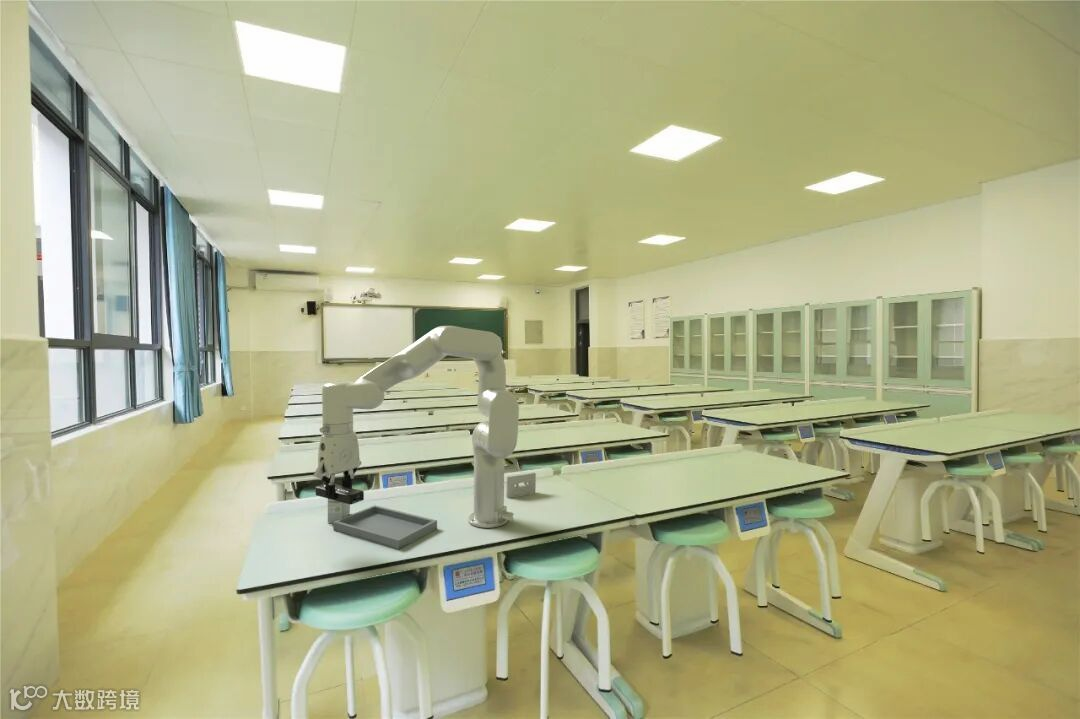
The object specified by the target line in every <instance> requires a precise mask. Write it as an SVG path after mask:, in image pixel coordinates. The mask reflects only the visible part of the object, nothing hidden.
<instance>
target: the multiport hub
mask: <svg viewBox="0 0 1080 719" xmlns="http://www.w3.org/2000/svg"><path fill="white" fill-rule="evenodd" d="M334 484H335V485H336V498H335V499H334V500H335V501H339V502H342V503H346V504H350V505H355V504H356V503H359V502H362V501H364V500H365V494H364V491H363V490H360V489H358V488H357V489H356V488H353V487H352V488H349V487H345V486H342V484H341V485H339V484H336V483H334ZM314 490H315V496H316V497H317V496H318V497H321V498H324V499H327V498H326V495H325V484H323V483H322V484H320V485H317V486H315V489H314Z"/></svg>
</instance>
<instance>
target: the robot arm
mask: <svg viewBox="0 0 1080 719" xmlns="http://www.w3.org/2000/svg"><path fill="white" fill-rule="evenodd" d="M502 350H503V342H502V340H501V338H500V337H499V335H497V334H496V333H494V332H492V331H487V330H481V329H479V330H478V329H474V328H473V329H472V328H467V327H466V328H465V327H461V326H456V325H455V326H454V325H440V326H436V327H435V328H433V329H431V330H430V331H429V332H427V333H426V334H424V335H423V336H421V337H420V338H419V339H417V340H416V341H415V342H413V343H412V344H410V345H408V346H407V347H406V348H404V349H403V350H402V351H400V352H399V353H397V354H395V355H393V356H391V357H390V358H388V359H387V360H385V361H384V362H382V363H381V364H379V365H377V366H376V367H374V368H373V369H371V370H370V371H368V372H367V373H366V374H364V375H363V376H360V378H358V379H357V380H356V381H355V382H353V384H352V383H349V382H345V381H339V382H337V381H336V382H335V381H334V382H327V383H325V384H324V385H323V386H322V388H321V390H322V391H321V395H322V396H321V399H322V401H321V402H322V404H321V405H322V406H321V407H322V409H321V410H322V413H321V414H322V427H320V428H319V432H320V433H322V435H321V436H320V439H319V444H318V456H317V457H318V458H317V468H316V469H315V471H314V473H313V477H314V478H315V479H318V480H319V481H320V482H322V485H323V484H325V495H326V498H325V499H327V500H328V499H331V500H334V499H335V498H336V485H337V484H336V483H335V477H336V474H337V475H338V474H340V473H342V474H343V477H342V478H341V486H345V487H349V488H353V482H352V481H353V479H354V478H355V474H356V472H357V471H358V469H359V468H360V467H361V465H362V461H361V460H360V458H361V457H360V447H359V440H358V436H357V433H356V431H354V410H355V409H356V410H373V409H376V408H378V407H380V406H381V405H382V404H383V402H384V400H385V392H386V391H388V390H389V389H391V388H392V387H394V386H396V385H398V384H400V383H403V382H405V381H408V380H411V379H414V378H415V379H416V378H417V377H419V376H421V375H422V374H423V373H425V372H426V371H427V370H429V369H430V368H432V367H433V366H434V365H436V364H437V363H438V362H439V361H441V360H442V359H444V358H445V357H446V356H451V357H456V358H465V359H472V360H473V362H475V364H476V367H477V370H478V390H477V402H476V403H477V409H478V411H479V412H480V414H481V415H483V416H484V417H487V418H488V420H484V421H481V422H479V423H478V424H477V425H476V426H474V429H473V431H472V435H471V436H472V437H471V443H472V451H473V464H474V465H473V512H472V513H470V515H469V516H468V523H469V525H471V526H473V527H478V528H483V529H485V528H487V529H489V528H497V527H501V526H504V525H505V524H507V523H508V522H511V523H512V522H513V521H514V512H512V511H508V506H506V505H504V504H505V503H504V502H505V459H506V458H508V457H510V456H511V455H512V454H513V453H514V451H515V449H516V447H517V444H518V443H517V442H518V434H519V421H520V420H519V417H520V406H519V402H518V399H517V397H516V396H515V395H514V393H512V392H511V391H510V390H507V383H506V382H507V376H506V375H507V373H506V372H507V371H506V365H505V364H506V363H505V361H504V357H503V356H502V354H501V353H502ZM335 484H336V485H335Z"/></svg>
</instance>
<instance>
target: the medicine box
mask: <svg viewBox="0 0 1080 719" xmlns="http://www.w3.org/2000/svg"><path fill="white" fill-rule="evenodd" d="M349 514H350V515H351V504H346V503H342V502H339V501H335V500H331V499H327V523H328V524H333V522H334V521H337V520H339V519H342V518H344V517H347V516H349Z"/></svg>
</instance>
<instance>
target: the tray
mask: <svg viewBox="0 0 1080 719" xmlns="http://www.w3.org/2000/svg"><path fill="white" fill-rule="evenodd" d="M332 525H333V527H332V530H333V531H334V532H335V531H336V532H338V533H341V534H346V535H348V536H352V537H355V538H358V539H362V540H365V541H369V542H371V543H376V544H379V545H382V546H385V547H388V548H392V549H395V550H398V551H399V550H401V549H402V548H404V547H407V546H408V545H410V544H411V543H412V544H413V543H414V542H415V541H417V540H419V539H420V538H421V539H422V537H424V536H426V535H428V534H430V533H432V532H433V531H435V530H437V529H438V520H437V519H433V518H428V517H424V516H420V515H416V514H413V513H412V514H411V513H407V512H404V511H400V510H396V509H392V508H388V507H384V506H379V505H376V504H374V505H372V506H369V507H367V508H365V509H362V510H359V511H356V512H354V513H352V514H350V515H348V516H347V517H344V518H342V519H339V520H337V521H334V522H333V523H332Z"/></svg>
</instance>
